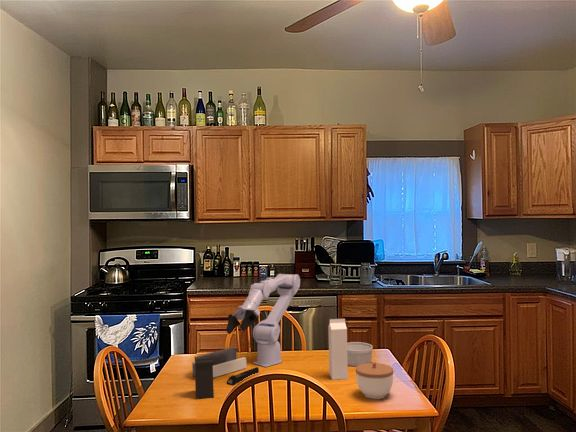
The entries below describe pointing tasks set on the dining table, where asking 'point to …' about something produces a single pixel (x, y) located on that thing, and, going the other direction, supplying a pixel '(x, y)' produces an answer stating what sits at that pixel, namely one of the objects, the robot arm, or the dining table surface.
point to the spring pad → (229, 367)
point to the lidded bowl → (374, 379)
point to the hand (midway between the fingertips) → (234, 330)
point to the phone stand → (204, 378)
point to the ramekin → (358, 353)
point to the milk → (338, 349)
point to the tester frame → (217, 357)
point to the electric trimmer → (241, 376)
